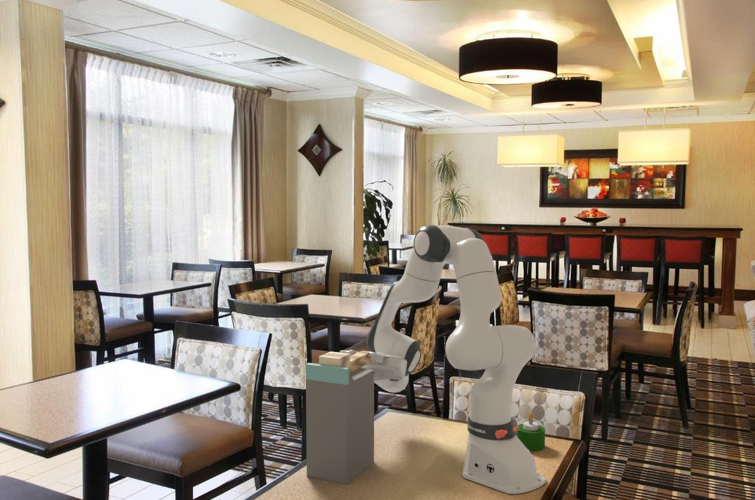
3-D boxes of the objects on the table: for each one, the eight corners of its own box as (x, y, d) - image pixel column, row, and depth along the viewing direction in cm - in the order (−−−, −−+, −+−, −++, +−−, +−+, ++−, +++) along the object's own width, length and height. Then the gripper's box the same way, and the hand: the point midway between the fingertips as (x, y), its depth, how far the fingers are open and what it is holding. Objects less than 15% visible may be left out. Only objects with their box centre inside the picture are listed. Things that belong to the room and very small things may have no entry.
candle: (510, 443, 194) (510, 410, 194) (533, 439, 198) (533, 407, 197) (527, 453, 187) (527, 419, 186) (550, 449, 190) (551, 415, 189)
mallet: (357, 360, 189) (357, 340, 189) (376, 362, 187) (376, 341, 186) (319, 379, 170) (318, 356, 169) (339, 381, 167) (339, 358, 167)
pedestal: (336, 454, 186) (335, 351, 184) (374, 461, 181) (373, 355, 178) (306, 476, 171) (305, 364, 169) (347, 484, 166) (346, 369, 164)
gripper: (351, 354, 202) (332, 339, 191) (412, 361, 193) (395, 346, 182) (346, 374, 199) (326, 360, 188) (408, 382, 191) (391, 368, 179)
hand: (361, 353), depth 185 cm, fingers open, 5 cm apart
